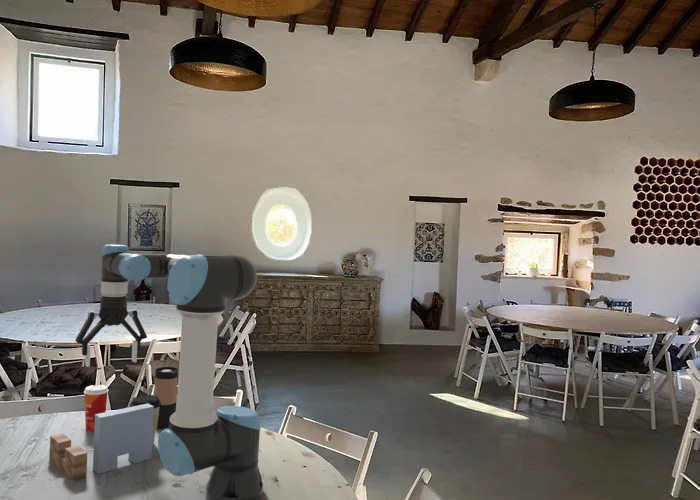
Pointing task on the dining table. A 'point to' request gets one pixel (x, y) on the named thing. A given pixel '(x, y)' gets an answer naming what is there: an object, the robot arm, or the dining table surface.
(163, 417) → the travel mug
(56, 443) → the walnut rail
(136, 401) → the coffee cup
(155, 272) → the robot arm
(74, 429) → the dining table surface
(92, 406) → the paper cup
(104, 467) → the light blue slab
